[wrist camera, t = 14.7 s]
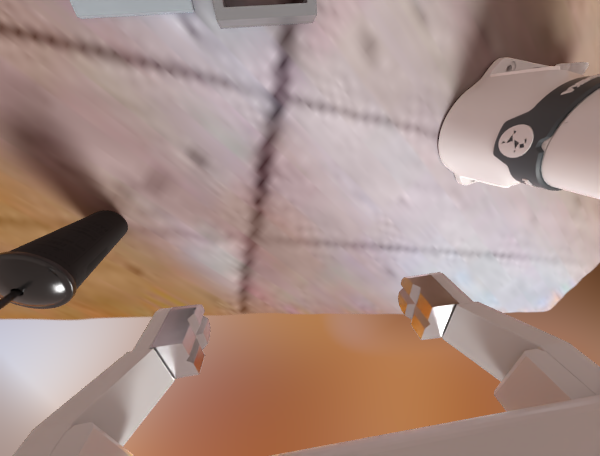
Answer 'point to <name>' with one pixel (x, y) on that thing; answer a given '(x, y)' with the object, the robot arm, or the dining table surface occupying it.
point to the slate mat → (129, 7)
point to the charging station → (264, 14)
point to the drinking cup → (58, 261)
